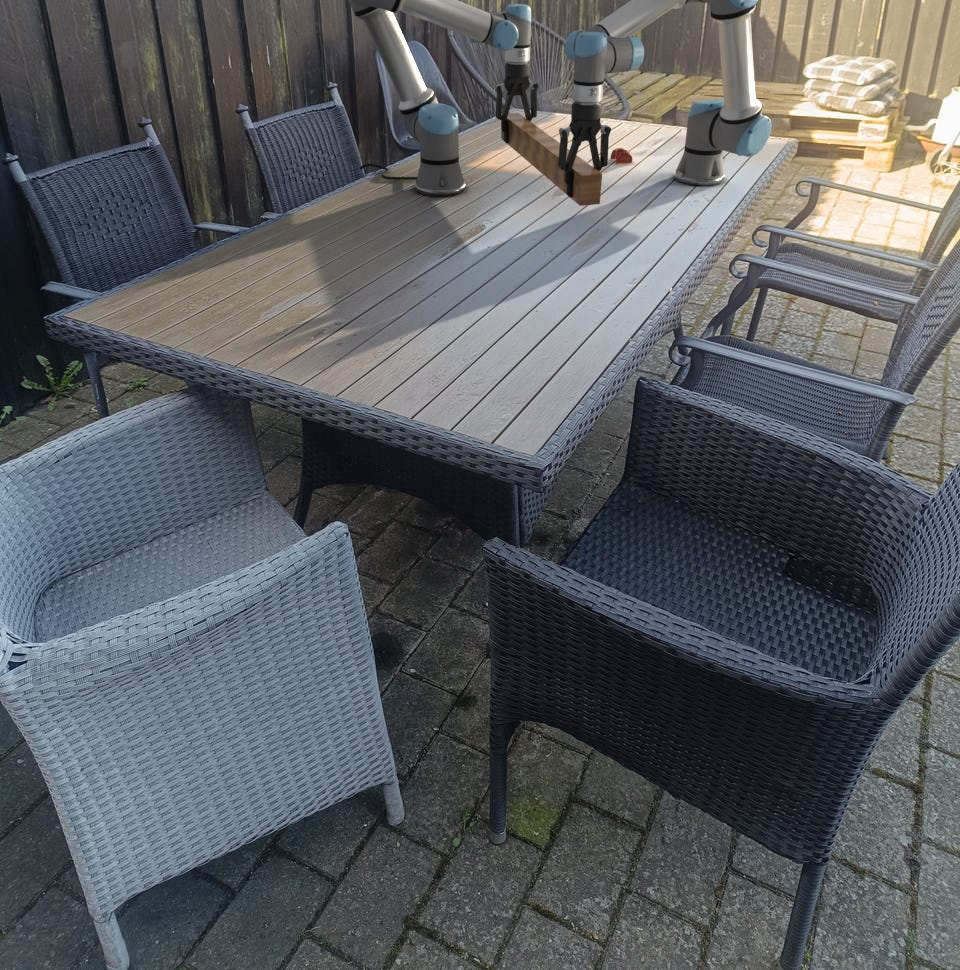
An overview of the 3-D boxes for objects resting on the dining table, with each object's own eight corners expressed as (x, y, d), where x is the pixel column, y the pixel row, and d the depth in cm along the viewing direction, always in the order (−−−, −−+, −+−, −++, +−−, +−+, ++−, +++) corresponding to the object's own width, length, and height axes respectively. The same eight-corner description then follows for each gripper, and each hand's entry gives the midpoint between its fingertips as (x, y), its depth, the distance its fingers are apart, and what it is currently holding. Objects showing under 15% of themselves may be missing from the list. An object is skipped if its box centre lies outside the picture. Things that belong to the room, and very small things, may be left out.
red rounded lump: (625, 144, 285) (634, 150, 279) (624, 157, 288) (633, 163, 282) (609, 146, 284) (618, 152, 278) (609, 159, 287) (617, 165, 281)
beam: (501, 138, 277) (501, 113, 272) (517, 137, 278) (518, 112, 273) (579, 205, 220) (581, 175, 215) (599, 204, 221) (602, 173, 216)
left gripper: (491, 65, 253) (490, 146, 267) (550, 62, 257) (546, 142, 271) (484, 61, 259) (484, 140, 273) (542, 58, 263) (539, 137, 276)
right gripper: (556, 107, 207) (552, 202, 220) (627, 102, 211) (618, 196, 224) (547, 100, 213) (543, 193, 226) (615, 96, 217) (607, 188, 230)
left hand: (515, 141), depth 272 cm, fingers closed on beam, 6 cm apart
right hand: (580, 194), depth 225 cm, fingers closed on beam, 6 cm apart
